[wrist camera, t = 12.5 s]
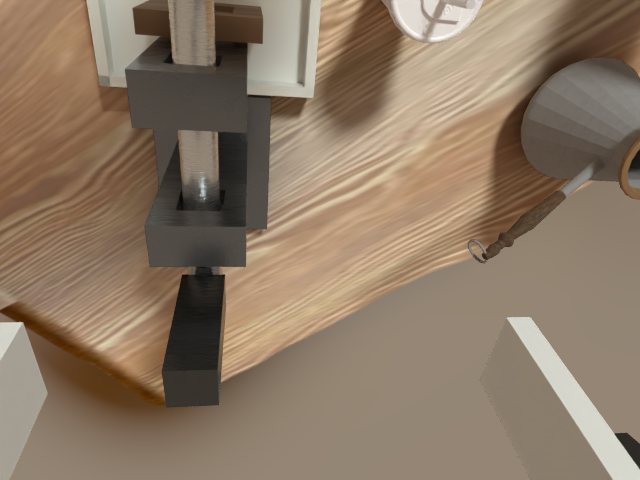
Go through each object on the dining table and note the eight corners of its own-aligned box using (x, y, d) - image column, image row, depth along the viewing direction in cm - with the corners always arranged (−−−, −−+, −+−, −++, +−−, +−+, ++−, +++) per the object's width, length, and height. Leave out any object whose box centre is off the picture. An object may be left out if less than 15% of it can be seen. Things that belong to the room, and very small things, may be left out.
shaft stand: (146, 22, 36) (81, 66, 22) (272, 32, 38) (285, 79, 24) (165, 220, 46) (128, 337, 32) (266, 221, 47) (273, 334, 33)
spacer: (155, -3, 35) (132, 7, 28) (260, 6, 36) (263, 18, 29) (156, 19, 36) (135, 34, 29) (260, 27, 37) (262, 44, 30)
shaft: (159, -92, 23) (98, -122, 14) (219, -85, 24) (199, -109, 14) (188, 294, 36) (167, 413, 27) (227, 293, 37) (219, 410, 27)
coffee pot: (618, 28, 41) (779, 61, 29) (624, 138, 48) (758, 205, 35) (400, 129, 44) (460, 200, 31) (432, 221, 50) (493, 312, 37)
